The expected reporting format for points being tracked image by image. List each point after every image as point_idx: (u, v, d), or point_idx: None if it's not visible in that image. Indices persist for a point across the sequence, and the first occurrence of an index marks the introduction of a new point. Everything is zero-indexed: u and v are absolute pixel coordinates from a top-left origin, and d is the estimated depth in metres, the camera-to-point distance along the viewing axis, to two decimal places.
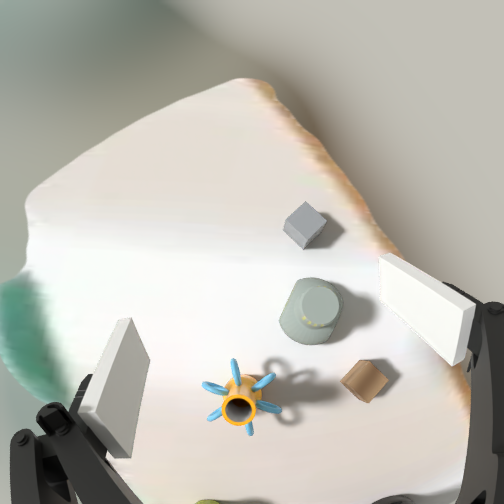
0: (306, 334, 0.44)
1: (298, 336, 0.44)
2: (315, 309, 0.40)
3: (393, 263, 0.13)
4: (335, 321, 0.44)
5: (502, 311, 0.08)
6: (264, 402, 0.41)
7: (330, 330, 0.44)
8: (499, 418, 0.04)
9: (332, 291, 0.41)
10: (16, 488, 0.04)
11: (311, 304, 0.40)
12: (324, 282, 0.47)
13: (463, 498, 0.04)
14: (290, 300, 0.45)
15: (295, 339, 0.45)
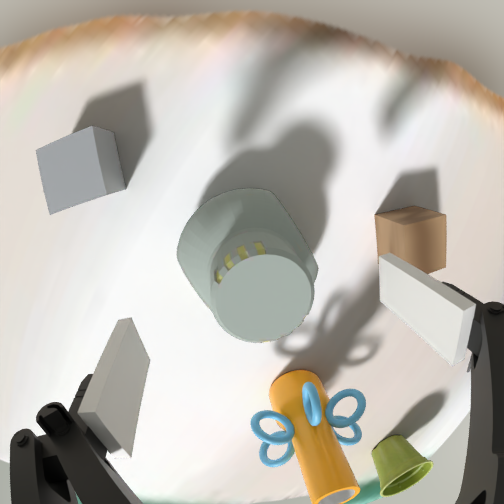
0: None
1: None
2: (265, 316, 0.16)
3: (393, 263, 0.13)
4: (303, 245, 0.21)
5: (502, 311, 0.08)
6: (334, 401, 0.26)
7: (311, 263, 0.21)
8: (499, 418, 0.04)
9: (252, 256, 0.15)
10: (16, 488, 0.04)
11: (249, 316, 0.16)
12: (212, 213, 0.20)
13: (462, 497, 0.04)
14: (208, 304, 0.21)
15: None
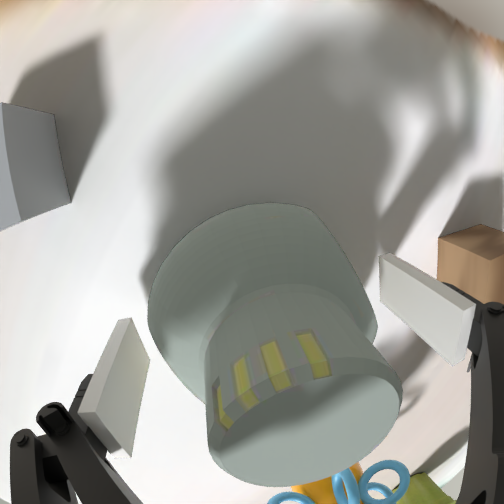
0: None
1: None
2: (312, 460, 0.07)
3: (393, 263, 0.13)
4: (365, 306, 0.11)
5: (501, 311, 0.08)
6: (369, 474, 0.17)
7: (372, 331, 0.12)
8: (499, 418, 0.04)
9: (301, 381, 0.06)
10: (16, 488, 0.04)
11: (283, 464, 0.07)
12: (206, 253, 0.10)
13: (463, 498, 0.04)
14: (204, 400, 0.12)
15: None
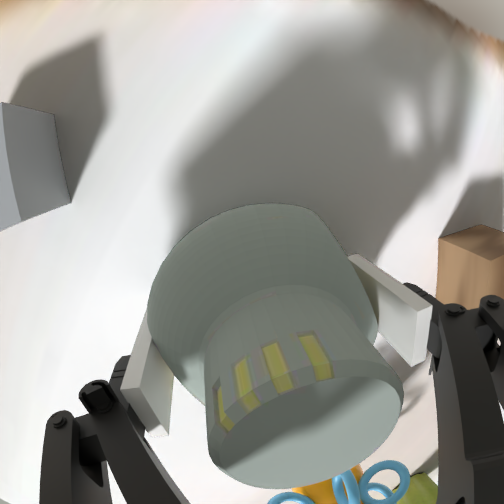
0: None
1: None
2: (312, 462, 0.07)
3: (357, 264, 0.14)
4: (366, 308, 0.11)
5: (460, 312, 0.09)
6: (369, 475, 0.17)
7: (372, 333, 0.12)
8: (469, 423, 0.05)
9: (304, 384, 0.06)
10: (47, 471, 0.05)
11: (283, 467, 0.07)
12: (207, 253, 0.10)
13: (441, 503, 0.04)
14: (203, 401, 0.11)
15: None
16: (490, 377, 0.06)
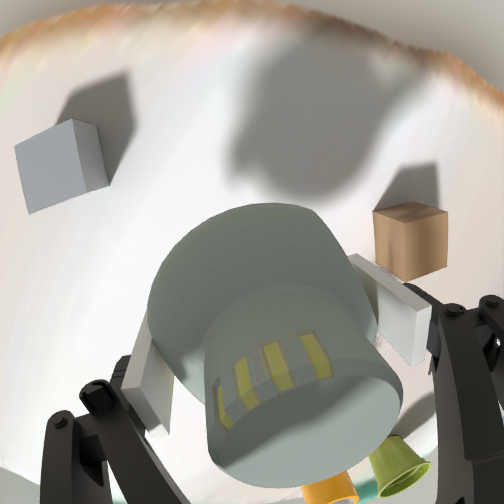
0: None
1: None
2: (311, 461, 0.07)
3: (357, 264, 0.14)
4: (366, 308, 0.11)
5: (459, 312, 0.09)
6: None
7: (372, 333, 0.12)
8: (468, 423, 0.05)
9: (304, 382, 0.06)
10: (47, 471, 0.05)
11: (283, 466, 0.07)
12: (208, 252, 0.10)
13: (440, 503, 0.04)
14: (202, 400, 0.11)
15: None
16: (490, 377, 0.06)
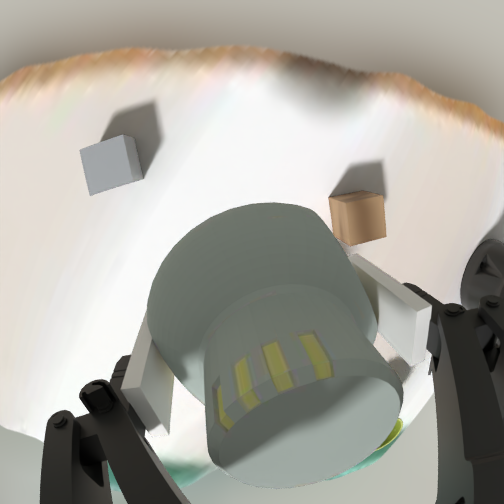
0: None
1: None
2: (312, 462, 0.07)
3: (357, 264, 0.14)
4: (366, 308, 0.11)
5: (459, 312, 0.09)
6: None
7: (372, 333, 0.12)
8: (468, 423, 0.05)
9: (304, 382, 0.06)
10: (47, 471, 0.05)
11: (283, 466, 0.07)
12: (208, 252, 0.10)
13: (440, 502, 0.04)
14: (202, 400, 0.11)
15: None
16: (490, 377, 0.06)
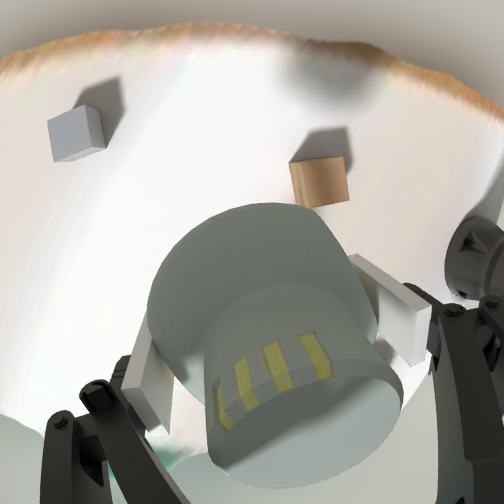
0: None
1: None
2: (312, 462, 0.07)
3: (357, 264, 0.14)
4: (366, 308, 0.11)
5: (460, 312, 0.09)
6: None
7: (372, 333, 0.12)
8: (468, 423, 0.05)
9: (304, 383, 0.06)
10: (47, 471, 0.05)
11: (283, 466, 0.07)
12: (208, 252, 0.10)
13: (441, 502, 0.04)
14: (202, 400, 0.11)
15: None
16: (490, 377, 0.06)
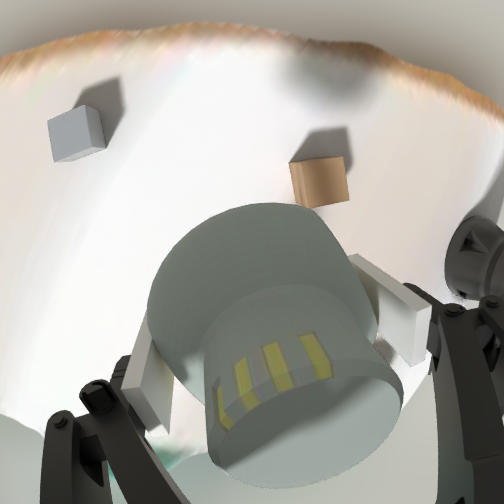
0: None
1: None
2: (312, 462, 0.07)
3: (357, 264, 0.14)
4: (366, 308, 0.11)
5: (460, 312, 0.09)
6: None
7: (372, 333, 0.12)
8: (468, 423, 0.05)
9: (304, 383, 0.06)
10: (47, 471, 0.05)
11: (283, 466, 0.07)
12: (208, 252, 0.10)
13: (441, 502, 0.04)
14: (202, 400, 0.11)
15: None
16: (490, 377, 0.06)
